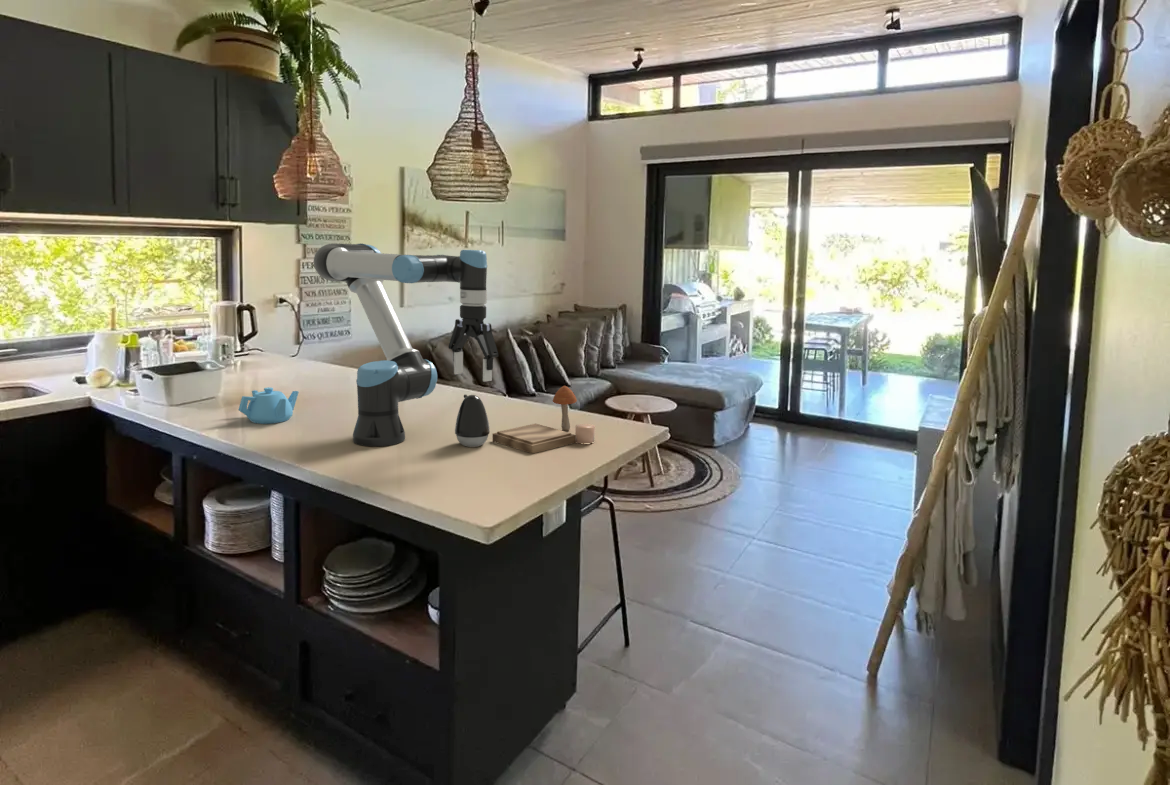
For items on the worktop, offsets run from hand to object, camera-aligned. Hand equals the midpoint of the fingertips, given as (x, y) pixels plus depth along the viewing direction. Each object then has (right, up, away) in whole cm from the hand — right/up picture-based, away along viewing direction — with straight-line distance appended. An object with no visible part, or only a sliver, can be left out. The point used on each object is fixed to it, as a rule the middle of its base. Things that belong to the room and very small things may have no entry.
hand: (472, 377), depth 211 cm
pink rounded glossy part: (+33, -20, +11) cm, 40 cm away
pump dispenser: (-1, -20, +5) cm, 21 cm away
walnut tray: (+17, -20, +9) cm, 28 cm away
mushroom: (+26, -17, +24) cm, 40 cm away
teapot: (-71, -14, +27) cm, 77 cm away
